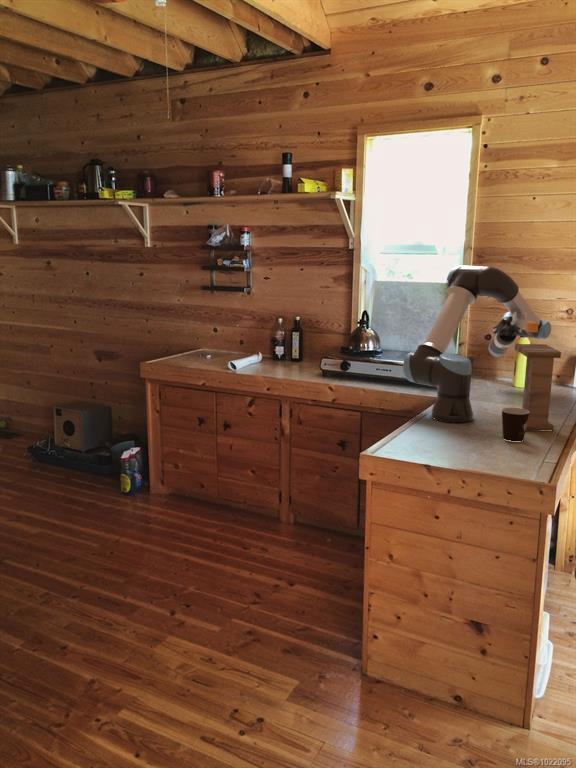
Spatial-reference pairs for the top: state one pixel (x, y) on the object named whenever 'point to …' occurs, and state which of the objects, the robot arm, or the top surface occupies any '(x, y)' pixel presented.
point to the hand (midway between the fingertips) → (520, 315)
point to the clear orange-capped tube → (526, 324)
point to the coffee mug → (514, 423)
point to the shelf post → (538, 383)
